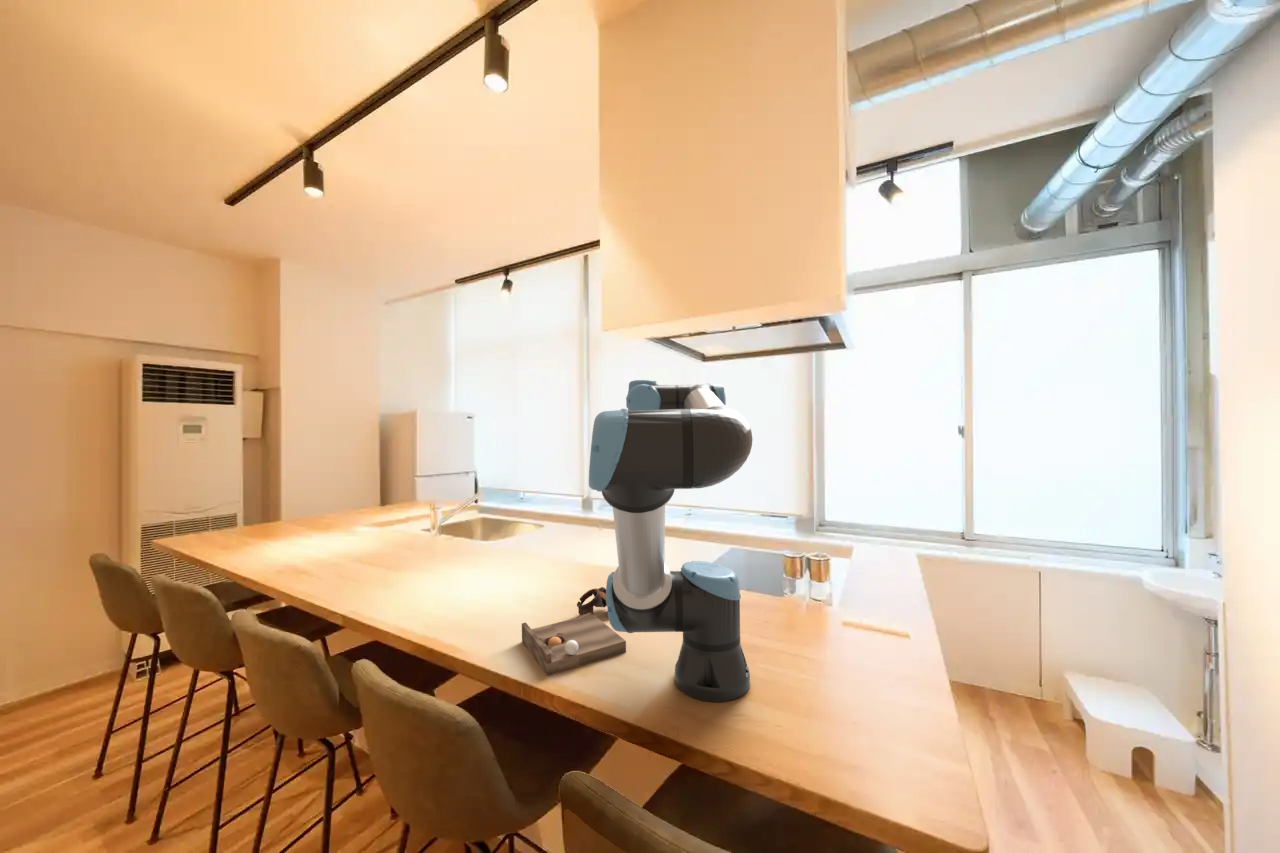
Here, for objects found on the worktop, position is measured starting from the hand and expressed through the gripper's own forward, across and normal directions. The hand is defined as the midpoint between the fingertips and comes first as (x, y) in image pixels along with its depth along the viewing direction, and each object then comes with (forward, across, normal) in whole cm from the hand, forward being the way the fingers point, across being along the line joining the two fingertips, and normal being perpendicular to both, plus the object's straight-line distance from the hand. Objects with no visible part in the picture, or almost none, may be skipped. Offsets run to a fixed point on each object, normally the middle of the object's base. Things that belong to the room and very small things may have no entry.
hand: (645, 536), depth 116 cm
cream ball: (+20, +22, +4) cm, 30 cm away
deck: (+24, +18, -4) cm, 31 cm away
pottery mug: (+25, +5, -18) cm, 31 cm away
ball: (+23, +23, -4) cm, 33 cm away
